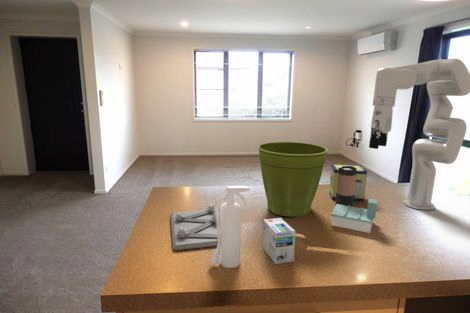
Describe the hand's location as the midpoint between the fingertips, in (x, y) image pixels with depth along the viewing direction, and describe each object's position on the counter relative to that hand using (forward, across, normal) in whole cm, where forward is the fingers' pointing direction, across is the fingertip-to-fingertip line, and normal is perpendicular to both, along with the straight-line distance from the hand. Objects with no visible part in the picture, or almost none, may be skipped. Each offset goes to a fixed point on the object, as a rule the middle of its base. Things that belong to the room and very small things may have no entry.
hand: (377, 147), depth 119 cm
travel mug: (+32, +6, +12) cm, 35 cm away
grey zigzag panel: (+35, -50, +46) cm, 76 cm away
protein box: (+31, +25, +19) cm, 44 cm away
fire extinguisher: (+34, -59, +22) cm, 72 cm away
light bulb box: (+34, -45, +13) cm, 58 cm away
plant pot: (+33, -9, +31) cm, 46 cm away
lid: (+27, -7, +4) cm, 28 cm away
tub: (+32, -6, +4) cm, 33 cm away
